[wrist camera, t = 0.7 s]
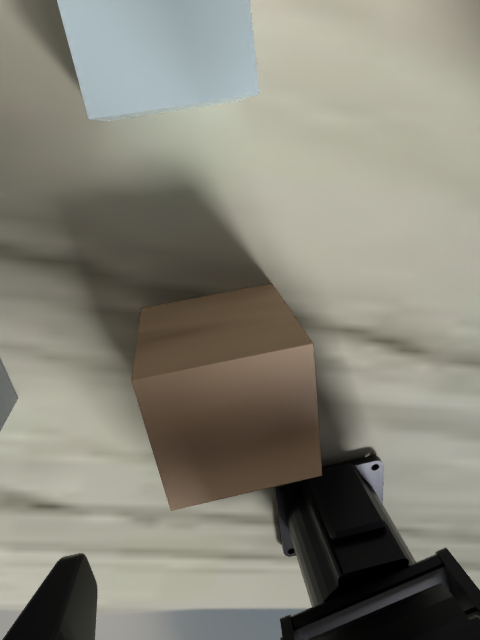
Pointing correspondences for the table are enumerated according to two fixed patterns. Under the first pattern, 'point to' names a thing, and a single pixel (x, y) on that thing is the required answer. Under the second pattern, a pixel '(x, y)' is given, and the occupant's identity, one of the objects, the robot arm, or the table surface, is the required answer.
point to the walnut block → (227, 395)
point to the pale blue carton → (160, 54)
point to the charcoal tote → (6, 395)
